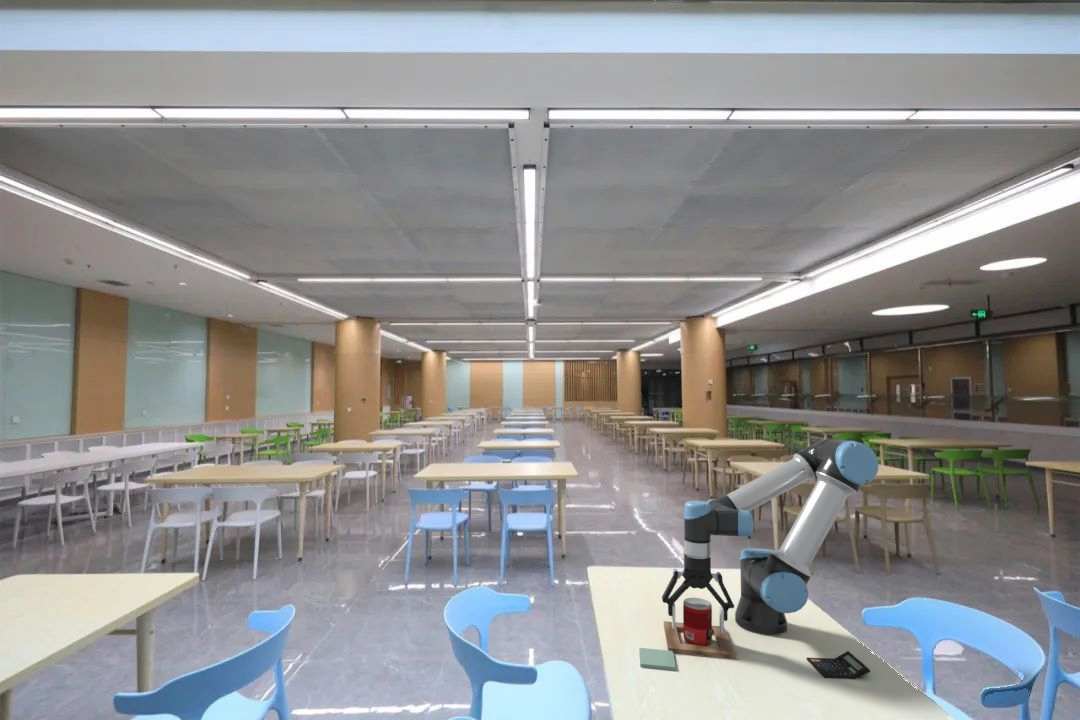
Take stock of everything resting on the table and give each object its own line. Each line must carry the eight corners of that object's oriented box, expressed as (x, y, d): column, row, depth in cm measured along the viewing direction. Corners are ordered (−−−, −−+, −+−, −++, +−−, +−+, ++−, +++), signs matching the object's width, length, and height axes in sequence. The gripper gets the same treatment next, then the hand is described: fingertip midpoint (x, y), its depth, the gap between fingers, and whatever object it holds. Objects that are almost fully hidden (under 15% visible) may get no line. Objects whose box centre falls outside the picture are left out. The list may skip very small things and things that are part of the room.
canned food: (713, 648, 146) (713, 608, 147) (684, 645, 148) (684, 605, 148) (710, 636, 153) (710, 598, 154) (682, 633, 155) (682, 596, 156)
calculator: (806, 660, 141) (806, 649, 141) (849, 662, 141) (849, 650, 141) (824, 679, 132) (824, 666, 132) (870, 680, 131) (870, 668, 131)
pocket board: (723, 630, 158) (723, 626, 158) (736, 659, 140) (736, 654, 140) (663, 625, 161) (663, 621, 161) (668, 652, 143) (668, 648, 143)
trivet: (672, 653, 142) (672, 650, 142) (675, 670, 134) (675, 667, 134) (639, 650, 144) (639, 647, 144) (640, 666, 135) (640, 663, 135)
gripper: (738, 554, 154) (739, 627, 152) (653, 548, 158) (653, 620, 156) (744, 561, 147) (745, 639, 145) (655, 555, 151) (654, 631, 149)
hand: (697, 629), depth 151 cm, fingers open, 13 cm apart
